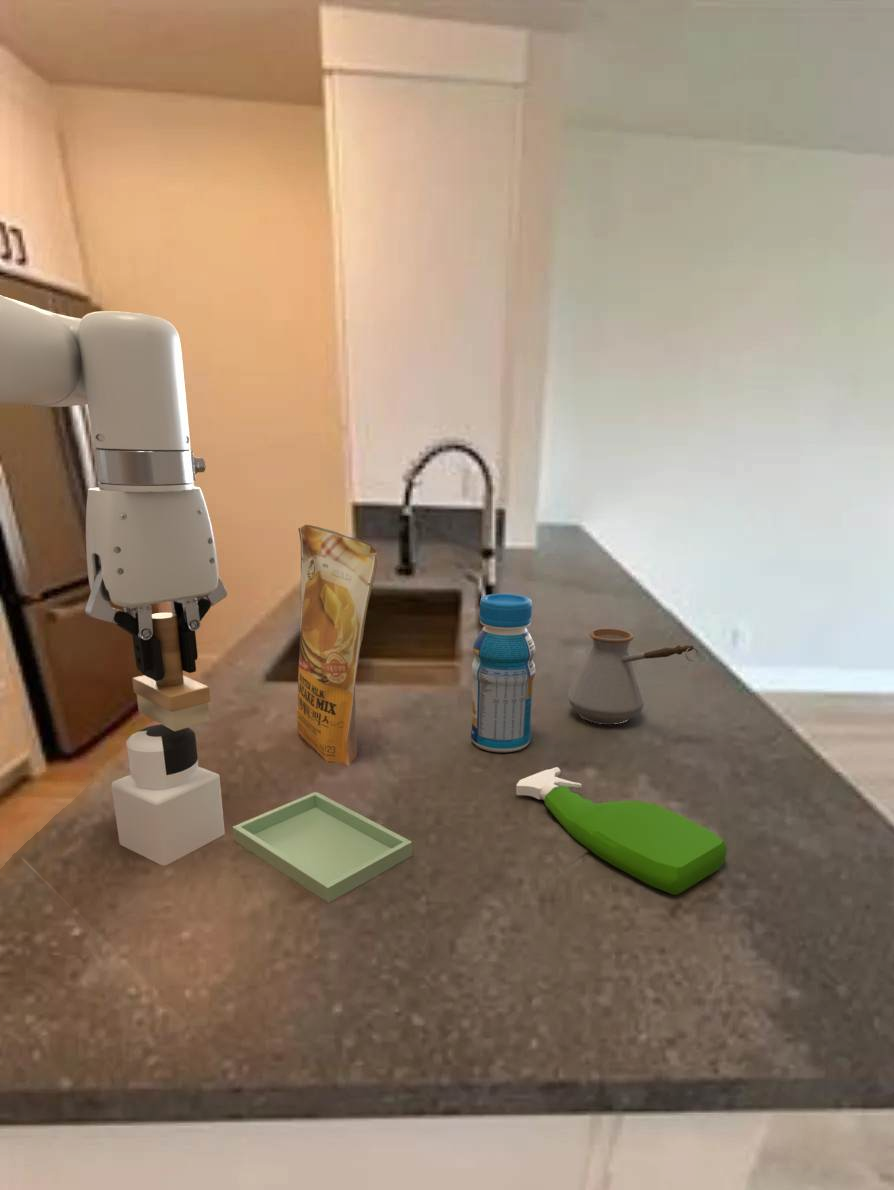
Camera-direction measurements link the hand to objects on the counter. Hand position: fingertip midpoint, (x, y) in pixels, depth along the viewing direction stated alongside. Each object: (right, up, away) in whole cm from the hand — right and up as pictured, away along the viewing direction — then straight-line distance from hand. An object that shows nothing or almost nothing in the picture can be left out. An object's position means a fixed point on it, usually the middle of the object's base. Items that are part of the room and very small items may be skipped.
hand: (168, 671), depth 68 cm
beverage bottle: (+31, -10, +31) cm, 45 cm away
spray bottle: (+43, -17, +10) cm, 47 cm away
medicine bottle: (-2, -17, +5) cm, 18 cm away
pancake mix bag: (+9, -10, +29) cm, 32 cm away
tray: (+13, -18, +4) cm, 23 cm away
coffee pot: (+50, -9, +38) cm, 63 cm away
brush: (0, -4, +1) cm, 5 cm away
